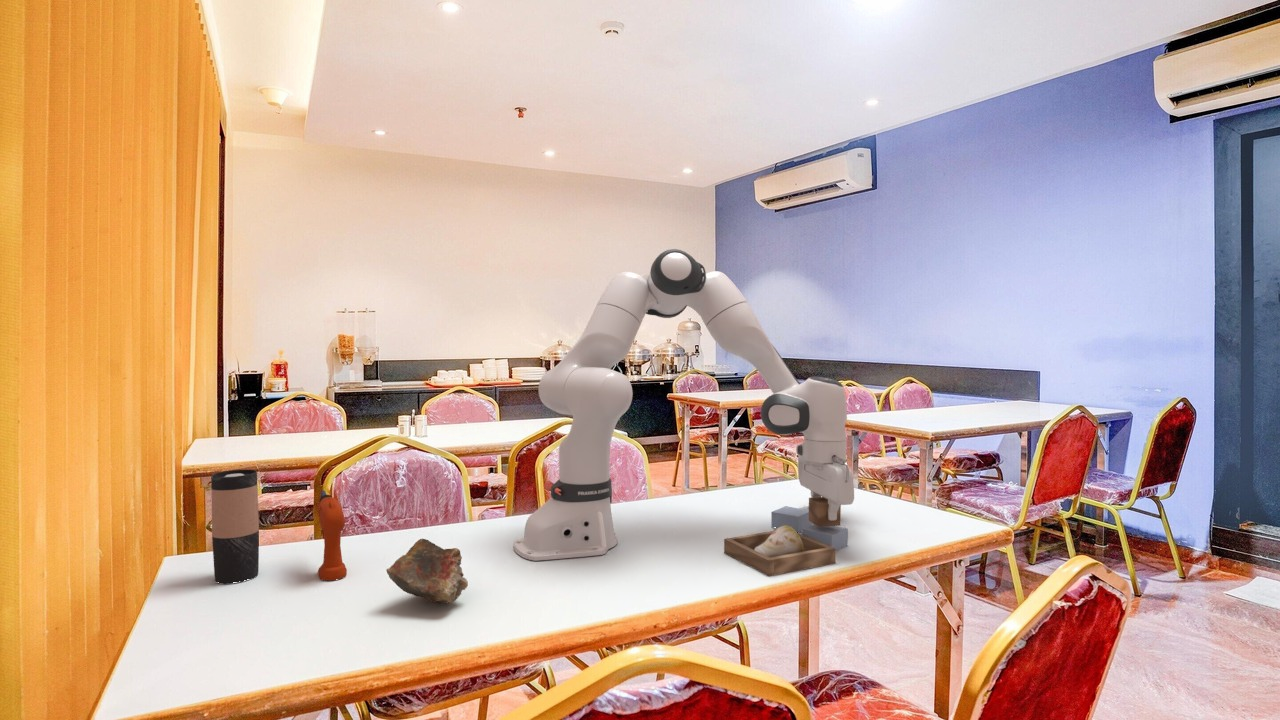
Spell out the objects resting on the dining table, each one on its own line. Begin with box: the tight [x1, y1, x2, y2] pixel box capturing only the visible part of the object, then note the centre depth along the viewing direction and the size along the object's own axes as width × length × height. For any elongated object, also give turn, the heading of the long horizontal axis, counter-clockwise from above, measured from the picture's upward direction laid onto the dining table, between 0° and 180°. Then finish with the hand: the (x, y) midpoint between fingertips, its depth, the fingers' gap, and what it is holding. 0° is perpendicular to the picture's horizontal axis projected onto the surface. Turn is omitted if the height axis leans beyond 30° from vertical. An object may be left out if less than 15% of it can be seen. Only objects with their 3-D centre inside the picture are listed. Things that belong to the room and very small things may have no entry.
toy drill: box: [317, 489, 348, 581], centre depth 133 cm, size 5×19×15 cm, turn 32°
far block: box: [770, 505, 813, 533], centre depth 160 cm, size 7×7×4 cm
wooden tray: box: [723, 530, 837, 577], centre depth 138 cm, size 16×15×3 cm
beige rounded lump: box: [754, 526, 804, 558], centre depth 135 cm, size 8×10×10 cm
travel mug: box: [210, 468, 260, 584], centre depth 127 cm, size 8×8×20 cm
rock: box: [386, 538, 469, 604], centre depth 115 cm, size 12×12×10 cm
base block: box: [801, 524, 849, 552], centre depth 146 cm, size 7×7×4 cm
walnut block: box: [808, 496, 842, 527], centre depth 145 cm, size 5×5×5 cm
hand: (824, 515), depth 145 cm, fingers closed on walnut block, 5 cm apart
